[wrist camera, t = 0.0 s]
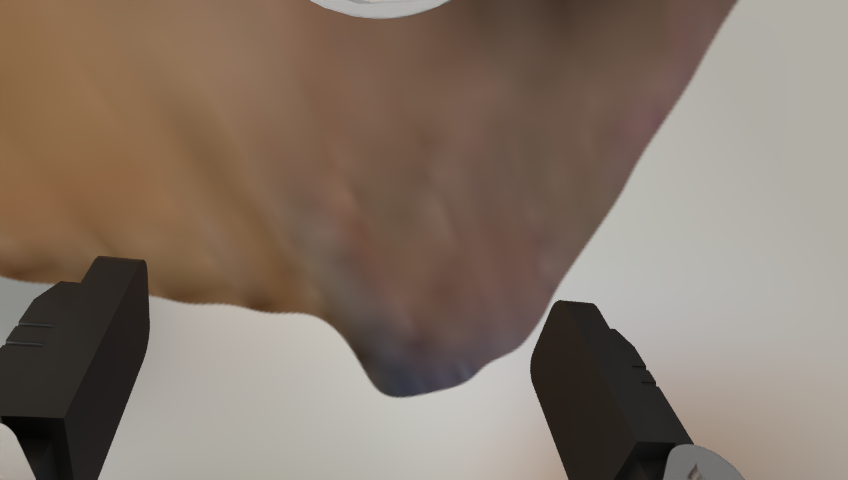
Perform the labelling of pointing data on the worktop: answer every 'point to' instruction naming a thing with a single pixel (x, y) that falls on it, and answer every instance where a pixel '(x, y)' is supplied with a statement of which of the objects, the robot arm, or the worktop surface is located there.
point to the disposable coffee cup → (380, 7)
